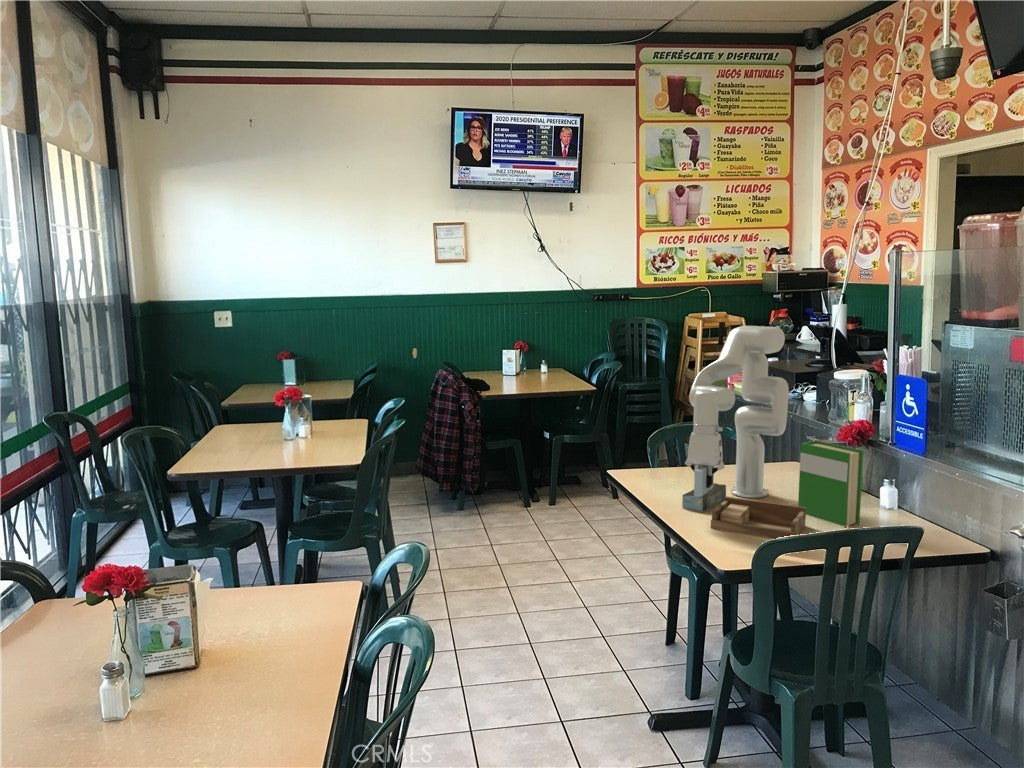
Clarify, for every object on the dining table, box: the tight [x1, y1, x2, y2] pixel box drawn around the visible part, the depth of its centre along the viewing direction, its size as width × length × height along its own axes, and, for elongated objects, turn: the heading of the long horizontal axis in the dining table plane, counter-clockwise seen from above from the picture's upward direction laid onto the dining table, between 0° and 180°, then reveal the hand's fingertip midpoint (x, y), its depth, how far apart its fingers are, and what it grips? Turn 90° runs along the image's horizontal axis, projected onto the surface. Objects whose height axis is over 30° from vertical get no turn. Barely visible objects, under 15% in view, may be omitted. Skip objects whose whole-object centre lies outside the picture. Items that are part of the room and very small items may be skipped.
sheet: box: [693, 465, 715, 497], centre depth 266 cm, size 12×2×8 cm, turn 150°
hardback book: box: [797, 440, 864, 529], centre depth 268 cm, size 18×7×24 cm, turn 32°
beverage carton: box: [681, 482, 727, 513], centre depth 285 cm, size 8×19×7 cm, turn 142°
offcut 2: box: [720, 512, 749, 524], centre depth 264 cm, size 11×6×2 cm, turn 150°
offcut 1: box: [721, 504, 750, 520], centre depth 263 cm, size 11×6×2 cm, turn 150°
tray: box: [710, 495, 807, 539], centre depth 260 cm, size 16×25×7 cm, turn 60°
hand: (704, 485), depth 266 cm, fingers closed on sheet, 2 cm apart
